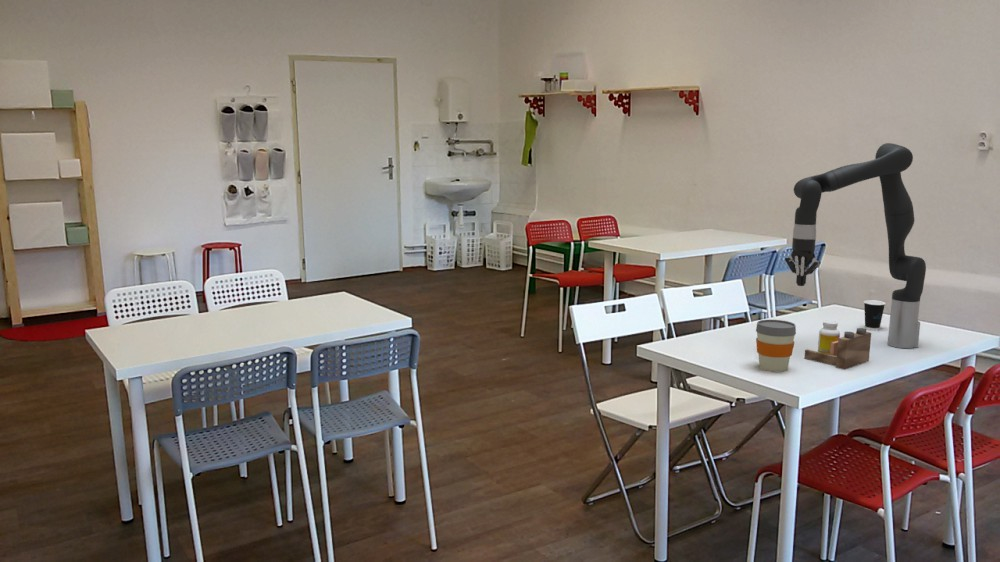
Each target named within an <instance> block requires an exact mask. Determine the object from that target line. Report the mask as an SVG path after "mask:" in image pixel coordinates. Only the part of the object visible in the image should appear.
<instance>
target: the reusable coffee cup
mask: <svg viewBox="0 0 1000 562" xmlns="http://www.w3.org/2000/svg"><path fill="white" fill-rule="evenodd" d="M755 332H756V338H755V342H756V343H755V344H756V352H757V354H758V367H759V368H760V369H761V368H762V369H761V370H764V369H765V370H764V371H769V372H776V371H780V372H785V370H786V371H787V370H788V368H789V363H790V359H791V356H792V355H793V350H794V345H795V341H794V339H795V335H796V334H797V333H796V332H797V328H796V324H795V323H793V322H791V321H787V320H780V319H761V320H758V321H757V322H756V328H755Z"/></svg>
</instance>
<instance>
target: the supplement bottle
mask: <svg viewBox="0 0 1000 562" xmlns="http://www.w3.org/2000/svg"><path fill="white" fill-rule="evenodd" d="M838 325H839V323H838V322H837V321H834V320H823V321H822V326H823V327H821V328H820V329H819V331H818V332H819V333H818V344H817V352H821V353H825V354H830V347H831V343H832V342H835V341H838V338H841V337H840V335H841V332H840V330H839V329H838Z"/></svg>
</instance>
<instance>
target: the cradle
mask: <svg viewBox="0 0 1000 562" xmlns="http://www.w3.org/2000/svg"><path fill="white" fill-rule="evenodd" d="M843 333H844V334H843V336H842V337H840V338H838V350H837V356H834V355H830V354H825V353H821V352H818V350H817V351H815V350H813V349H812V350H811V349H808V348H807V349H805V350H804V359H805V360H809V361H814V362H818V363H821V362H822V364H827V365H831V366H834V367H835V368H837V369H841V370H848V369H850V368H853V367H856V366H858V365H861V364H864V363H867V362H869V361H870V354H871V353H870V350H871V341H872V332H871V331H870V332H869V331H867V329H866V328H864V327H863V328H862V327H856V332H854V331H844V332H843Z"/></svg>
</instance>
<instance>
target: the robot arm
mask: <svg viewBox="0 0 1000 562" xmlns="http://www.w3.org/2000/svg"><path fill="white" fill-rule="evenodd" d="M913 159H914V155H913V153H912V151H911V150H910V149H909V148H907V147H905V146H903V145H899V144H896V143H891V142H888V143H887V142H885V143H883V144H882V145H880V146H879V147H878V148H877V150H876V153H875V159H872V160H869V161H864V162H863V161H862V162H860V163H859V162H858V163H852V164H847V165H842V166H839V167H837V168H834V169H831V170H829V171H826V172H824V173H821V174H816V175H812V176H807V177H804V178H802V179H800V180H798V181H797V182H796V183H795V184H794V187H793V193H794V195H795V197H796V198H799V199H800V202H799V206H798V207H797V208H796V209H795V214H794V223H793V224H794V225H793V231H792V245H791V249H792V252H791V253H790V255H789V256H788V257H784V261H785V263H786V264H787V265H788V268H789V269H790V271H791V273H793V274H795V275H796V281H795V283H796V285H797V287H798V286H799V287H804V286H805V285H806V284H807V276H809V275H812V274H813V273H814V272H815V271H816V270H817V268H818V267H819V266H820V265H821V261H820V260H819V261H818V260H817V259H816V255H815V251H816V250H815V249H816V239H817V215H818V214H817V212H818V209H819V208H820V207H819V206H820V202H821V199H822V193H826V192H828V193H830V192H834V191H837V190H841V189H843V188H845V187H849V186H851V185H854V184H855V185H856V184H857V183H860V182H863V181H867V180H870V179H874V178H879V181H880V186H881V193H882V194H881V195H882V202H883V211H884V219H885V227H886V231H887V232H886V233H887V242H888V243H887V244H888V270H889V273H890V276H891V278H893V279H895V280H897V281H903V282H905V283H906V284H905V286H904V287H902V288H900V289H894V290H893V291H892V293H891V303H890V304H891V305H890V313H889V315H890V316H889V325H888V335H887V345H889V346H890V347H894V348H900V349H914V348H918V347H919V339H920V332H921V331H920V330H921V329H920V328H921V322H920V321H919V314H920V304H921V298H922V294H923V291H924V285H925V278H926V273H927V271H926V270H927V266H926V265H927V263H926V260H924V259H923V258H922V257H919V256H914V255H913V256H912V255H906V253H905V243H906V239H907V237H908V236H909V234H910V233H911V231H912V229H913V227H914V225H915V211H914V205H913V202H912V199H911V196H910V194H909V193H908V191H907V188H906V187H905V184H904V182H903V178H902V172H904V171H906V170H907V169H908V168H909V167H911V165H912V164H913ZM913 347H914V348H913Z"/></svg>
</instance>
